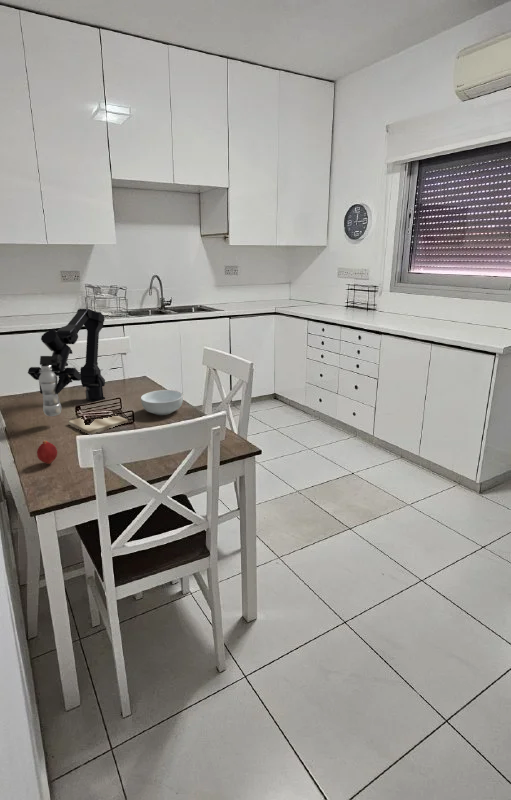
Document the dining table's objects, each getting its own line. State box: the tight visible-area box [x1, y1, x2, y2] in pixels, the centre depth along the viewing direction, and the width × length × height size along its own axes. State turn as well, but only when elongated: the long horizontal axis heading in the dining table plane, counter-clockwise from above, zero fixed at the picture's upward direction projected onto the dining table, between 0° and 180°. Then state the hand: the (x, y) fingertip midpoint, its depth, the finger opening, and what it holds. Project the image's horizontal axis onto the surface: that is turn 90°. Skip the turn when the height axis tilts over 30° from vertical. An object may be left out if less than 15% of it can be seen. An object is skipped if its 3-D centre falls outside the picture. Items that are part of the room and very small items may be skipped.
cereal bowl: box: [140, 389, 184, 416], centre depth 191 cm, size 17×17×7 cm
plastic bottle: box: [38, 364, 62, 417], centre depth 174 cm, size 6×7×20 cm
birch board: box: [68, 415, 129, 435], centre depth 179 cm, size 16×16×2 cm
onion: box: [36, 440, 58, 465], centre depth 145 cm, size 6×6×8 cm
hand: (48, 393), depth 173 cm, fingers closed on plastic bottle, 5 cm apart
